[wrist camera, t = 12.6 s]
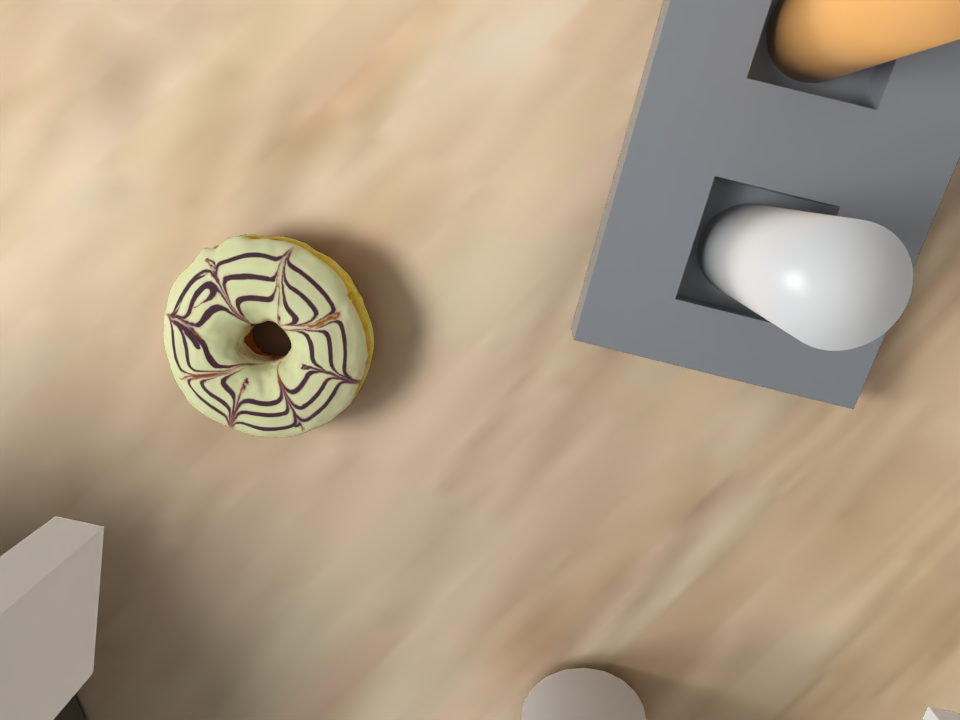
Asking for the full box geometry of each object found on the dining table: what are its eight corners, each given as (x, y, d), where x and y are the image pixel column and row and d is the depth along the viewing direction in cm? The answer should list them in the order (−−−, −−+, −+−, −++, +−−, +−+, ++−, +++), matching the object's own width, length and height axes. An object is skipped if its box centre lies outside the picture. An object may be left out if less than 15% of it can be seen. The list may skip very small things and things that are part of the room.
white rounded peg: (686, 282, 34) (755, 333, 23) (714, 193, 32) (802, 204, 22) (772, 303, 33) (881, 364, 23) (804, 216, 32) (936, 237, 22)
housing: (832, 393, 35) (853, 409, 33) (571, 328, 35) (573, 339, 33) (1024, -78, 29) (1067, -99, 27) (707, -154, 29) (722, -182, 27)
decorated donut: (152, 279, 37) (110, 291, 33) (325, 199, 35) (300, 201, 31) (243, 445, 39) (212, 473, 35) (409, 378, 37) (396, 401, 33)
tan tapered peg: (752, 70, 31) (861, 18, 20) (788, -36, 30) (924, -150, 19) (846, 93, 31) (1006, 53, 20) (886, -12, 29) (1078, -113, 19)
